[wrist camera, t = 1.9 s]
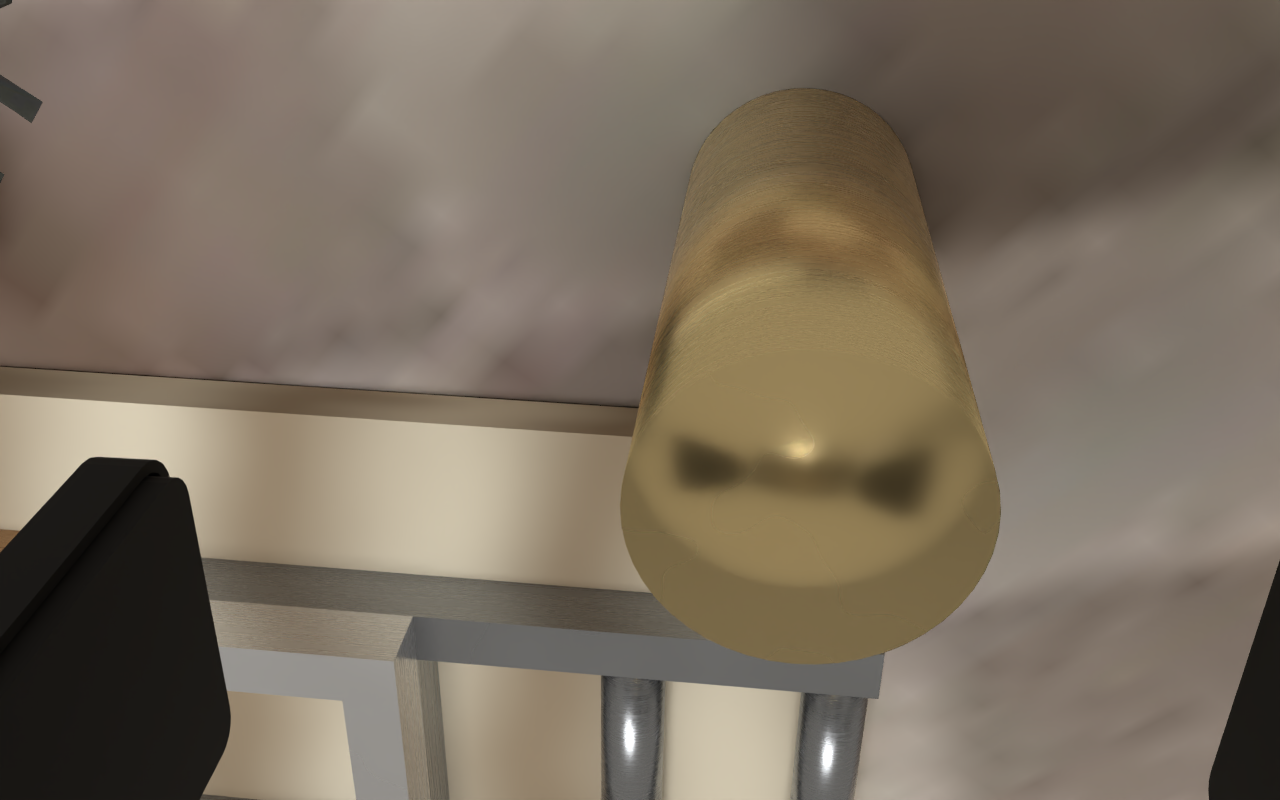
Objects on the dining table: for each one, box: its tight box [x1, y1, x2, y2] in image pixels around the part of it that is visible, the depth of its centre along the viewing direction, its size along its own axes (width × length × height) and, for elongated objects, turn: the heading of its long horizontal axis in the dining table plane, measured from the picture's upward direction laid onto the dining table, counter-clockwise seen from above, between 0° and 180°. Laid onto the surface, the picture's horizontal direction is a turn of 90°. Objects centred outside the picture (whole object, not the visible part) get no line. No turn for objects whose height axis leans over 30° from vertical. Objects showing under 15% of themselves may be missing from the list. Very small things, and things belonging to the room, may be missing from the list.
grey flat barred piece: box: [0, 529, 431, 800], centre depth 24 cm, size 16×8×2 cm, turn 89°
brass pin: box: [620, 88, 1001, 665], centre depth 16 cm, size 4×4×9 cm
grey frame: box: [200, 558, 885, 800], centre depth 24 cm, size 16×7×1 cm, turn 89°
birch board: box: [0, 367, 868, 800], centre depth 25 cm, size 24×14×1 cm, turn 89°
